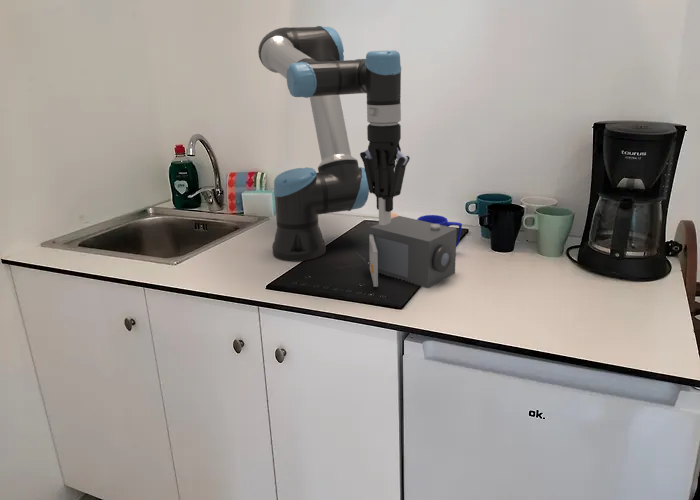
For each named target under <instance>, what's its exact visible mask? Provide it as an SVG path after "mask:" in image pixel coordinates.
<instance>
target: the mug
mask: <svg viewBox="0 0 700 500" xmlns="http://www.w3.org/2000/svg"><path fill="white" fill-rule="evenodd" d="M416 220H420V221H425V222H429V223H434V224H440V225H443V226H447V227H451V226H458V233H457V237H456V248H457V247H458V245H459V243H460V240H461V239H460V238H461V236H462V235H461V234H462V229H463V228H462V227H463V223H461V222H458V221H457V222H456V221H449V220H448V218H447V217H445V216H442V215H437V214H426V215H421V216H420V217H418V218H417V219H416Z"/></svg>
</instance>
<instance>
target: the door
mask: <svg viewBox="0 0 700 500" xmlns="http://www.w3.org/2000/svg"><path fill="white" fill-rule="evenodd" d="M368 239H369V243H368V244H369V245H368V247H369V271H370V276H371V279H372V284H373V285H372V286H373V287H374V288H375V287H376V288H377V287H379V278H378V277H379V273H378V251H377V248H376V244H375V241H374V237H373V234H370V233H369V234H368Z"/></svg>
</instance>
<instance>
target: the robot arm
mask: <svg viewBox="0 0 700 500" xmlns="http://www.w3.org/2000/svg"><path fill="white" fill-rule="evenodd" d="M341 38H342V37H341V36H340V34H339V32H338V31H337V30H336V29H334V28H333V27H330V26H322V25H318V26H317V25H316V26H304V27H303V26H302V27H299V26H298V27H297V26H296V27H295V26H294V27H289V26H288V27H287V26H286V27H279V28H276V29H274V30H272V31H270V32H268V33H267V34H265V36H264V37H262V39H261V41H260V43H259V46H258V52H257V53H258V59H259V60H260V62H261V65H263V67H265V68H266V69H267V70H268V71H269V72H272V73H275V74H276V73H277V74H280V75H281V76H282V77H283V78H285V79H286V85H287V89H288V91H289V93H290V96H292V97H294V98H306V99H308V98H309V101H310V102H309V103H310V106H311V112H312V117H313V122H314V123H313V124H314V127H315V133H316V139H317V142H318V149H319V154H320V158H321V159H320V160H321V162H320V163H319V165H318V166H317V170H316V169H315V168H313V167H303V168H302V167H298V168H293V169H288V170H285V171H283V172H280V173H279V174H278V175H276V177H275V178H274V181H273V196H274V204H275V205H274V206H275V217H276V218H275V220H276V231H275V234H274V241H273V242H272V243H273V244H272V245H271V246H272V249H271V250H272V255H273V257H274V258H276V259H279V260H281V261H287V262H302V261H303V262H304V261H309V260H313V259H317V258H319V257H321V256H323V255H324V254H326V251H327V250H326V249H327V247H326V246H327V245H326V241H325V239H324V236H323V234H322V230H321V229H320V228H321V227H320V226H319V215H323V214H324V215H326V214H333V213H341V212H350V211H352V210H358V209H362V208H363V207H365V205H366V203H367V201H368V198H369V194H373V195H374V196H375V197H376V198H375V199H376V210H378V224H379V225H387V224H389V223H391V212H393V209H394V197H397V196H399V195H401V191H402V187H403V183H404V177H405V173H406V167H407V165H408V163H409V161H410V159H411V158H410V156H409V155H405V154H404V153H402V152H401V151H402V148H401V147H400V141H401V138H402V137H401V135H402V131H401V128H402V127H401V124H400V122H401V121H402V118H401V117H402V115H401V114H402V113H401V112H402V110H401V109H402V108H401V104H402V103H401V90H402V89H401V88H402V87H401V85H402V84H401V83H402V81H401V80H402V77H401V76H402V66H401V55H400V52H399V51H397V50H372V51H367V53H366V56H365V58H357V59H349V60H348V59H347V60H344V59H345V55H344V51H345V50H344V45H343V41H342V39H341ZM354 94H355V95H356V94H366V118H367V123H369V124H368V125H367V126H366V128H367V129H366V130H367V131H366V134H367V138H366V139H367V141H369V143H368V146H367V149H366V150H365V151H361V152H360V153H359V156H360V159H361V160H362V163H363V166H364V167H361V166H359V162H358V159H356V158H355V157H353V155H352V153H351V147H350V144H349V139H348V132H347V128H346V122H345V118H344V117H345V116H344V112H343V107H342V102H341V97H340V95H341V96H342V95H354Z"/></svg>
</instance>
